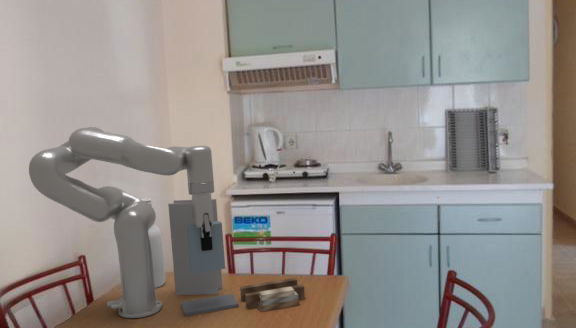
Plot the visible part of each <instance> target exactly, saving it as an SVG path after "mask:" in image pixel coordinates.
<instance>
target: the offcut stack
mask: <svg viewBox="0 0 576 328" xmlns="http://www.w3.org/2000/svg"><path fill="white" fill-rule="evenodd" d="M259 297H260V302H257V306H258V307H257V309H258V310H259V312H260V313H262V312H267V311H273V310H278V309H285V308H291V307H297V306H300V303H301V302H300V300H299V299H298V294H297V293H296V292H295V291H294V289H293V288H292V287H286V288H280V289H274V290H268V291H262V292H259Z"/></svg>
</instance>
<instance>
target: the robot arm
mask: <svg viewBox="0 0 576 328" xmlns="http://www.w3.org/2000/svg"><path fill="white" fill-rule="evenodd" d="M91 160H94V161H101V162H105V163H110V164H116V165H120V166H121V165H122V166H124V167H126V168H130V169H133V170H137V171H139V172H144V173H151V174H154V175H161V176H167V177H169V176H173V175H176V174H177V173H179V172H181V171H185V170H186V174H187V175H186V176H187V187H188V188H187V191H188V195H190V196H191V200H192V214H193V224H194V225H195V227H196V228H198V229H199V227H201V237H202V238H201V249H202V251H208V250H212V249H213V247H212V236H211V227H212V226H213V210H212V199H213V198H212V194H213V193H215V183H214V182H215V181H214V169H213V156H212V149H211V147H209V146H207V145H195V146H170V147H167V148H163V147H156V146H152V145H148V144H143V143H141V142H138V141H136V140H134V139H133V138H132V137H130V136H128V135H122V134H117V133H111V132H107V131H104V130H102V129H100V127H96V126H95V127H93V126H89V127H88V126H87V127H81V128H77V129H76V130H74V131H73V132H72V133H71V134H70V136H69V137H68V140H67V141H66V142H64V143H63V144H61V145H59V146H57V147H52V148H47V149H43V150H41V151H39V152H37V153H35V154H34V156H33V157H31V159H30V162H29V165H28V174H29V179H30V181H31V183H32V185H33V187H34V188H35V189H36V190H37V191H38V192H39V193H40V194H41V195H42V196H44V197H45V198H48V199H49V200H51V201H54V202H56V203H58V204H60V205H62V206H63V207H66V208H67V209H69V210H71V211H73V212H75V213H77V214H79V215H81V216H83V217H85V218H87V219H89V220H91V221H94V222H97V223H103V222H106V221H109V220H110V219H112V220H114V223H113V233H114V238H115V242H116V247H117V256H118V263H119V273H120V283H121V285H120V287H121V295H120V296H121V297H119V298H117V300H116V299H115V300H109V301H107V302H106V305H107V306H106V307H107V309H109V308H111V310H116V309H118V315H119V316H121V318H126V319H137V318H138V319H139V318H145V317H149V316H152V315H154V314H156V313H158V312H159V311H160V310H161V309H162V308H163V306H162V304H163V303H162V301H160V300H158V299H157V296H156V288H155V283H154V271H153V260H152V250H151V244H150V239H149V234H148V230H149V229H150V228H151V227H152V226H153V224H154V222H156V218H157V217H156V212H155V209H154V208H153V206H151V205H149V204H148V203H146V202H145V201H143V200H141V199H142V198H138V197H136V196H135V195H133V194H131V193H128V192H126V191H125V190H122V189H120V188H118V187H117V186H116V187H115V186H110V185H107V186H101V187H99V188H97V187H94V186H91V185H90V184H87V183H85V182H83V181H82V180H79V179H76V178H74V177H71V176H68V175H67V174H69V173H71V172H73V171H75V170H76V169H78V168H80V167H82V166H83V165H85V164H86V163H88V162H89V161H91ZM202 225H205V227H202ZM210 226H211V227H210ZM203 229H205V230H204V231H203Z"/></svg>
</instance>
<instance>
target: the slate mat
mask: <svg viewBox="0 0 576 328" xmlns="http://www.w3.org/2000/svg"><path fill="white" fill-rule="evenodd" d="M180 306H181V309H182V311H183V315H184V317H188V316H194V315H195V316H196V315H200V314H205V313H212V312H219V311H222V310H223V311H224V310H228V309H233V308H239V307H240V305H239V302H238V300H237V299H236V298H235V296H234V294H233V293H229V294H221V295H215V296H212V297H205V298H204V297H203V298H199V299H198V298H197V299H192V300H186V301H185V300H184V301H180Z"/></svg>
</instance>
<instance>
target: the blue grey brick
mask: <svg viewBox="0 0 576 328" xmlns="http://www.w3.org/2000/svg"><path fill="white" fill-rule="evenodd" d="M202 227H205V225H202ZM210 227H211V226H210ZM204 230H205V229H203V231H204ZM187 236H188V248H189V259H190V271H191V273H192V274H194V273H200V272H207V271H213V270H220V269H221V270H226V263H225V262H226V260H225V259H226V258H225V247H224V246H225V245H224V235H223V223H222V222H221V221H220V220H218V221H216V222H213V226H212V227H211V236H212V247H213V249H212V250H208V251H202V249H201V238H202V237H201V227H199V229H198V228H196V227H195V225H194V224H193V225H187Z"/></svg>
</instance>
